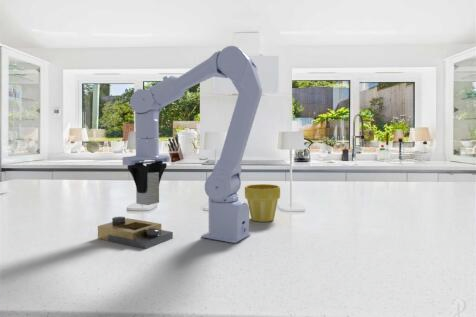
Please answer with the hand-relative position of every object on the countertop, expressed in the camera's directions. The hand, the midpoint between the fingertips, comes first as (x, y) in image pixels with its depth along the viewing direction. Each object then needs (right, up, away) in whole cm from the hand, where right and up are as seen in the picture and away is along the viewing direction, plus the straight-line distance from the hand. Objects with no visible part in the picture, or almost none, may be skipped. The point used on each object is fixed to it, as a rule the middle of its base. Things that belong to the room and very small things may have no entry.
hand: (147, 191), depth 87 cm
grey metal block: (0, -3, 0) cm, 3 cm away
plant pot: (+30, -10, +12) cm, 34 cm away
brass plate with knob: (-1, -10, -7) cm, 13 cm away
